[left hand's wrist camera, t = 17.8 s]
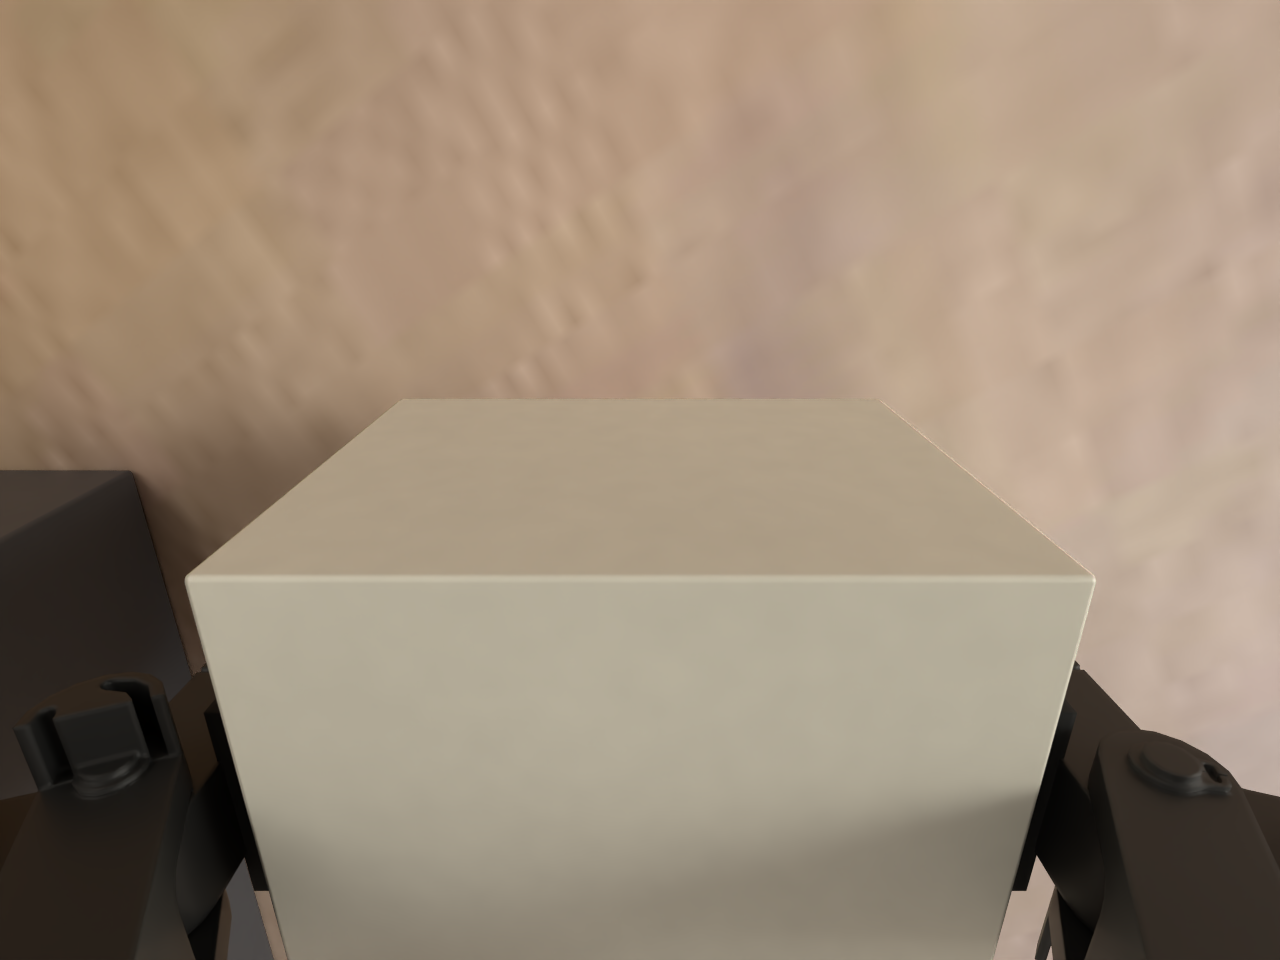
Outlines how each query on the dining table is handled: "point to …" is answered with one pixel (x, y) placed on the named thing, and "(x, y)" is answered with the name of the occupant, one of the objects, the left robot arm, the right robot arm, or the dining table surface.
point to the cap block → (640, 685)
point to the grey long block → (88, 619)
